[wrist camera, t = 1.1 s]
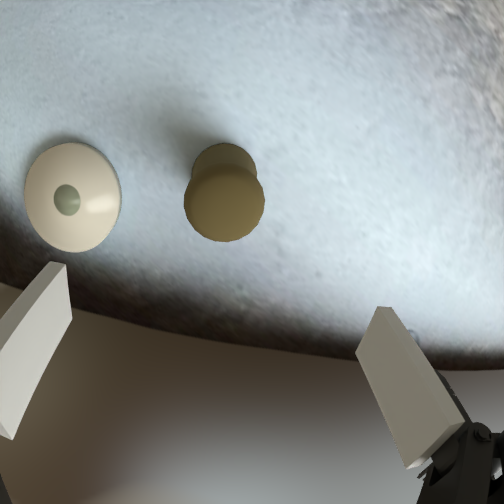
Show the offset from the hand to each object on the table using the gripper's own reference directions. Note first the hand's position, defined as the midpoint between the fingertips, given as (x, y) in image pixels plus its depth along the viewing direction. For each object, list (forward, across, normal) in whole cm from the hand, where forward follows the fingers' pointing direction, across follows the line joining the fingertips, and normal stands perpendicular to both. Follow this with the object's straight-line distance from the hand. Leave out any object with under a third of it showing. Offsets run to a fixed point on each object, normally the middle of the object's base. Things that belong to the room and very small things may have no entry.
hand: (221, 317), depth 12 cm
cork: (+19, 0, +2) cm, 19 cm away
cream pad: (+19, -15, -2) cm, 24 cm away
